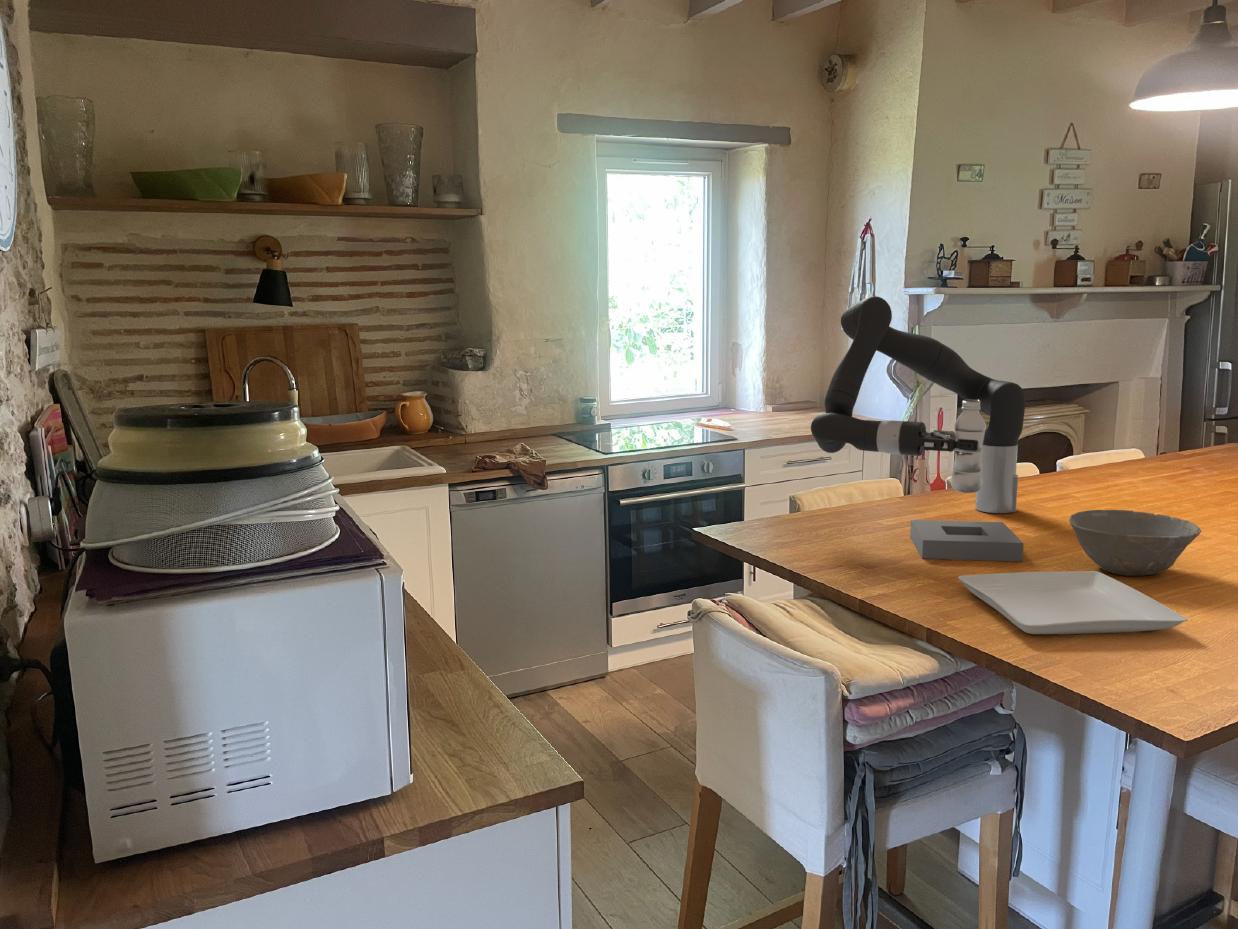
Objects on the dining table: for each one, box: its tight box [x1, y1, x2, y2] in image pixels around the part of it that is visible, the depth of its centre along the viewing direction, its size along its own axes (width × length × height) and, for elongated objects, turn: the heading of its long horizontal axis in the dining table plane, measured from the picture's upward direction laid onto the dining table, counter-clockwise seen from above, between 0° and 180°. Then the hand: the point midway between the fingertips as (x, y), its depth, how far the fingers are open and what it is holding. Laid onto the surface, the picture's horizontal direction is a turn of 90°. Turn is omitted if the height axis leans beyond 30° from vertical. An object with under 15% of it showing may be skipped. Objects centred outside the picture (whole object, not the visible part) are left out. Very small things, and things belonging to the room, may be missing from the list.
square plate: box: [957, 570, 1188, 635], centre depth 158 cm, size 27×27×4 cm
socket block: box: [909, 519, 1025, 562], centre depth 198 cm, size 20×18×4 cm
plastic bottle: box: [950, 399, 987, 494], centre depth 195 cm, size 6×7×20 cm
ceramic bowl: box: [1068, 509, 1202, 577], centre depth 180 cm, size 22×23×10 cm
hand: (980, 443), depth 193 cm, fingers closed on plastic bottle, 6 cm apart
